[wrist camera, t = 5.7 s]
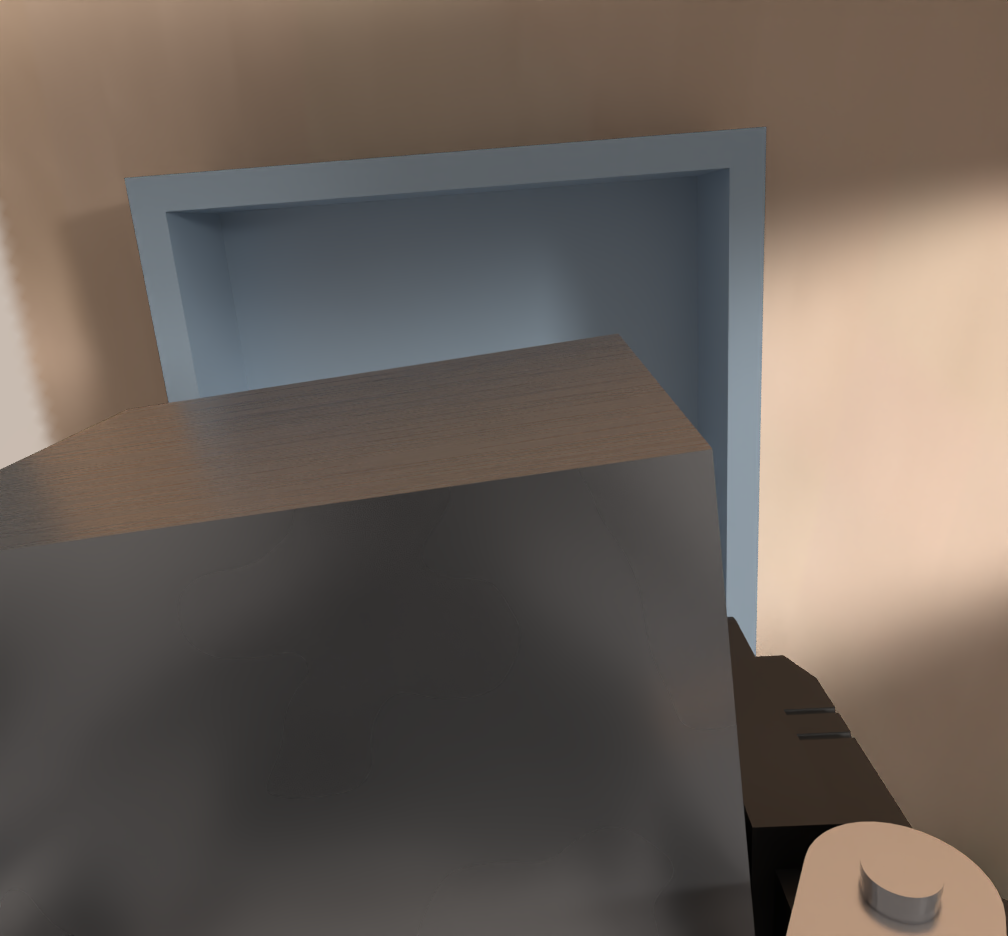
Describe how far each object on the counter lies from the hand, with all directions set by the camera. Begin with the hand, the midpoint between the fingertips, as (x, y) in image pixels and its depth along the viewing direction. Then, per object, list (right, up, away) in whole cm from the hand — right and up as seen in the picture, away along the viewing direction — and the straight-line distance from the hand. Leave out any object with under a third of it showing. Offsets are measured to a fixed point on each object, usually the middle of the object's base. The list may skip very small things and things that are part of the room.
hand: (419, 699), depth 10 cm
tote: (0, +4, +15) cm, 15 cm away
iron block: (0, 0, +1) cm, 1 cm away
